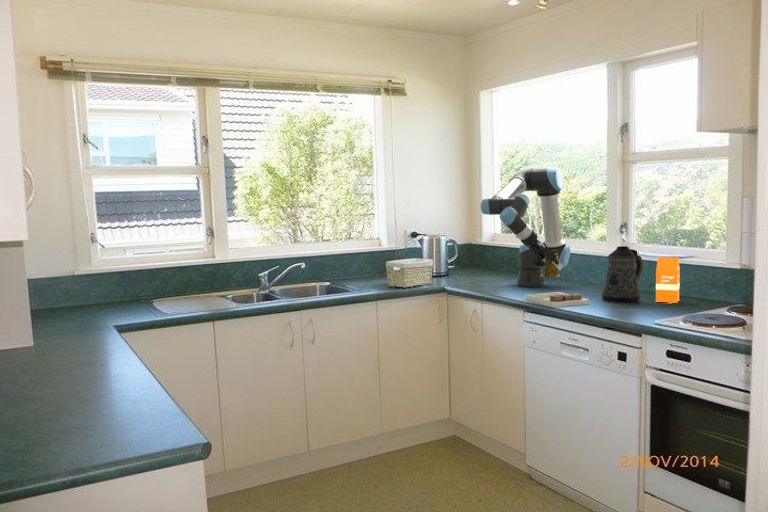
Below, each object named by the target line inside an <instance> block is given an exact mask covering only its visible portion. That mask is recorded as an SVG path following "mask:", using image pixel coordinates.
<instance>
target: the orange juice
mask: <svg viewBox="0 0 768 512" xmlns="http://www.w3.org/2000/svg"><path fill="white" fill-rule="evenodd" d="M680 269H681V268H680V258H679V257H657V261H656V269H655V303H656V302H668V303H667V304H672V303H677V302H678V301H679V302H680V283H681V282H680V278H681V276H680V274H681V273H680ZM679 302H678V303H679ZM678 303H677V304H678Z"/></svg>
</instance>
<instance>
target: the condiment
mask: <svg viewBox="0 0 768 512" xmlns="http://www.w3.org/2000/svg"><path fill="white" fill-rule="evenodd" d="M551 251H552V252H553V253H554V254H555V255H556V256H557V255H558V254H557V253H558V251H557V250H551ZM556 259H557V260H558V256H557V257H556ZM550 261H551V260H550V259H549V258H547V257H546V256H545V267H544V273H542V274H541V276H543V277H544V278H546V277H551V278H552V277H553V278H555V277H556V278H559V277H560V273H559V270H558V269H557V268H556V267H555V266H554V265H553V263H552V262H550ZM541 276H540V277H541Z"/></svg>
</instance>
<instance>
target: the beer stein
mask: <svg viewBox="0 0 768 512" xmlns="http://www.w3.org/2000/svg"><path fill="white" fill-rule="evenodd" d="M607 260H608V266H607V273H606V279H605V281H604V282H605V284H604V287H603V289H602V291H601V296H602V300H603V301H604V302H607V303H619V304H620V303H621V304H622V303H623V304H626V303H633V304H636V303H635V302H638V301H639V302H640V297H641V293H640V291H639V290H640V289H639V287H638V286H639V285H638V280H639V279H640V277H641V275H642V273H643V270H644V261H643V259H642V256H640V255H638V251H637V250H636V249H632V248H629V246H625V245H623V246H617V247H616V249H614V251H612V252H611V253H609V255H607ZM639 302H638V303H639Z"/></svg>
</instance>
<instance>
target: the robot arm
mask: <svg viewBox="0 0 768 512" xmlns="http://www.w3.org/2000/svg"><path fill="white" fill-rule="evenodd" d="M563 188H564V177H563V173H562V172H561V170H560V169H559V168H558V167H552V166H547V167H533V168H532V167H529V168H525V169H523V170H521V171H519V172H517V173H516V174H514V175H513V176H511V178H509V180H508V183H507V184H505V185H504V186H503V187H502V188H501V189H500V190H499V191H498V192H497V193H495V194H494V195H493V196H492V197H491V198H483V199H482V200H481V203H480V210H481V213H482V214H483V215H489V216H491V215H493V216H494V215H499V219H500V221H501V222H502V223H503V224H504V226H506V227H507V228H508V229H509V230H510V231H511V232H512V233H513V234H514V235H515V238H516V239H518V240H519V241H520V242H521V243H522V244H520V245H519V251H518V255H519V272H518V276H517V279H516V286H517V285H518V287H522V286H523V287H526V288H537V287H539V286H540V287H543V286H546V280H545V276H544V277H543V276H541V274H543V270H542V267H544V268H545V256H546V257H547V258H549V259H550V260H551V261H550V262H552V263H553V265H554V266H555V267H556V268H557V269H558V272H560V271H561V270H562V269H563V268H565V267H566V266H567V265H568V263H569V261H570V258H571V257H570V256H571V247H570V246H569V245H568V244H566V240H565V239H563V236H562V227H561V226H562V225H561V217H560V206H559V197H558V196H559V195H560V194H561V191H562V190H563ZM524 192H536V196H537V197H539V198H540V203H541V204H540V206H541V214H542V215H541V216H542V224H543V231H544V232H543V233H544V239H545V240H544V241H543V242H541V241H540V240H538V233H537V232H536V231H534V230H533V228H532V227H531V225H529V224H528V222H526V220H525V219H524V216H525V214H526V213H527V209H528V207H529V205H530V198H529V197H528V196H527V194H525V193H524ZM551 250H557V251H558V253H557V254H558V255H557V256H558V260H557V259H556V257H557V256H556V255H555V254H554V253H553V252H552V251H551ZM540 276H541V277H540Z"/></svg>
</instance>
